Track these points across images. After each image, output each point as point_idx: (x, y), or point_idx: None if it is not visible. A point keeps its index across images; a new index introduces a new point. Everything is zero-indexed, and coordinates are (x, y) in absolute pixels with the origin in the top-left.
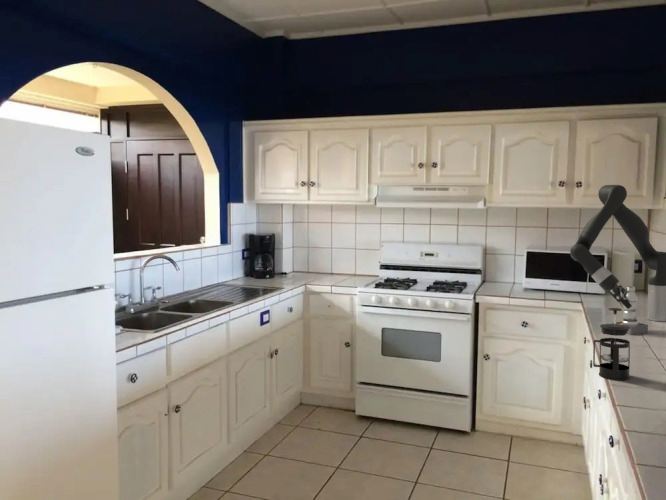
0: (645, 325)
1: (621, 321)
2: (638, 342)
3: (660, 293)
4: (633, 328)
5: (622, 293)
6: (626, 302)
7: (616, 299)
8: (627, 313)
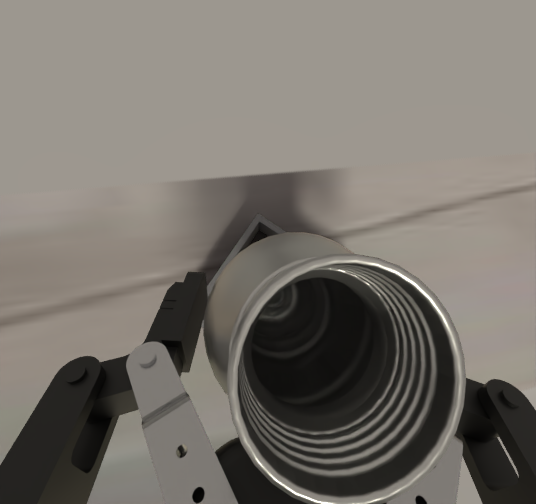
0: (271, 223)
1: None
2: (471, 233)
3: None
4: None
5: None
6: None
7: (503, 457)
8: (321, 314)
